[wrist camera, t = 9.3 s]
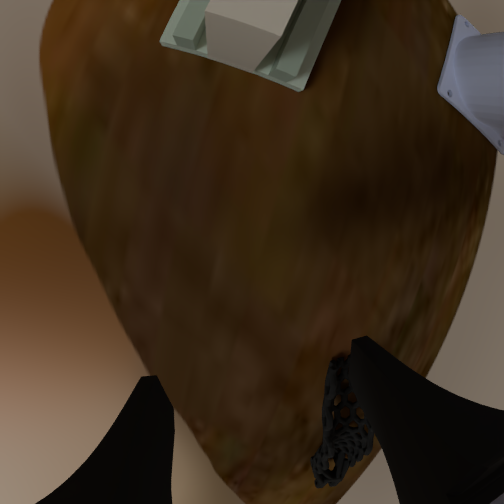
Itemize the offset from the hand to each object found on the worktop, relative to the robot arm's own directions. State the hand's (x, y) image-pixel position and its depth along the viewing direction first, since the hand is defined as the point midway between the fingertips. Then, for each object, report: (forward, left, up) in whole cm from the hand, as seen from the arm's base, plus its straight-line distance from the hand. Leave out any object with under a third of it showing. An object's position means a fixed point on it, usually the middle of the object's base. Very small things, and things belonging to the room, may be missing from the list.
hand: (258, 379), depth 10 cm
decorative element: (-16, +15, -10) cm, 24 cm away
